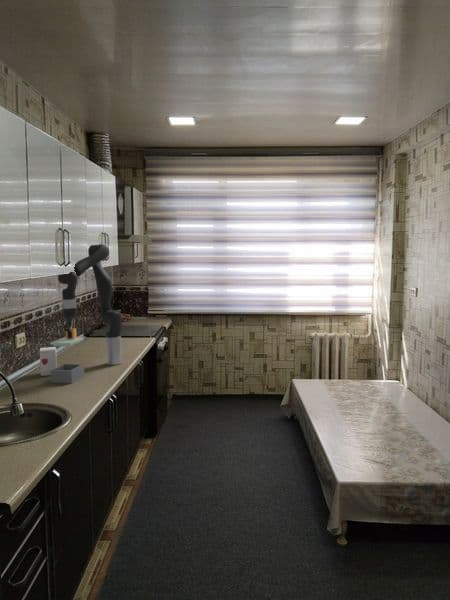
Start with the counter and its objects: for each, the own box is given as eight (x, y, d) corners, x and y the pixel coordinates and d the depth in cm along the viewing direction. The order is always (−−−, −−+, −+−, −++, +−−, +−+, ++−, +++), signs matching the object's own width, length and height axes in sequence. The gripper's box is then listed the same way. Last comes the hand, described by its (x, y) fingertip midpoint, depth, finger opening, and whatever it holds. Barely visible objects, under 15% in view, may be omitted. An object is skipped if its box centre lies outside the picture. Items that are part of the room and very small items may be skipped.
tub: (64, 375, 297) (64, 363, 296) (84, 376, 295) (83, 364, 294) (51, 382, 283) (50, 370, 282) (71, 383, 280) (71, 370, 280)
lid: (64, 341, 295) (63, 328, 294) (83, 341, 293) (82, 328, 292) (50, 346, 280) (49, 332, 280) (70, 346, 278) (70, 332, 277)
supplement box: (40, 376, 298) (38, 350, 296) (41, 372, 306) (40, 347, 305) (57, 374, 300) (55, 349, 299) (57, 371, 309) (56, 346, 307)
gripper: (69, 305, 297) (71, 335, 299) (57, 308, 283) (59, 339, 285) (81, 305, 295) (83, 335, 297) (69, 308, 282) (71, 339, 284)
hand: (71, 337), depth 291 cm, fingers closed on lid, 3 cm apart
